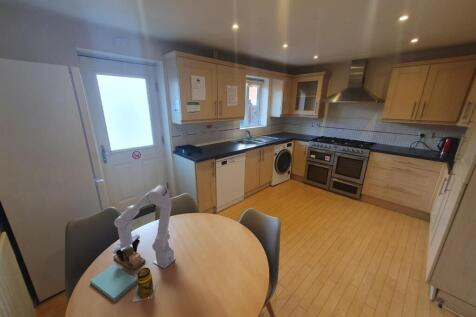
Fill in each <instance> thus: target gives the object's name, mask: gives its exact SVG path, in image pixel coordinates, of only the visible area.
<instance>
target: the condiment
mask: <svg viewBox="0 0 476 317" xmlns="http://www.w3.org/2000/svg"><path fill="white" fill-rule="evenodd" d="M136 276H137V277H136V279H137V283H136V284H137V287H136V290H135V293H134V295H133V299H132V303H134V302H139V301H145V300H149V299H153V298H154V293H155V291H156V285H157V284H156V283H154V284H153V275H152V273H151V269H150V268H149V267H142V268H141V269H139V270H138V271H137V275H136ZM148 297H149V298H148Z"/></svg>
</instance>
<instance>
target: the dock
mask: <svg viewBox="0 0 476 317" xmlns="http://www.w3.org/2000/svg"><path fill="white" fill-rule="evenodd" d="M89 284H90V285H92V286H93V287H95V289H97V290H99V291H100V292H101V293H103V295H105V296H106V297H108V298H109V299H110V300H112V301H113V302H115V303H116V302H117V301H118V300H119V299H120V298H121V297H122V296H123V295H125V294H126V293H127V292H129V290H130V289H132V288H133V287H134V286H135V285H136V284H138V283H137V277H134V276H133V275H131V274H129V273H128V272H126V271H124V270H123V269H121V268H120V267H118V266H116V265H115V264H111V265H110V266H109V267H106V268H105V269H104V270H102V271H101V272H99V273H98V274H97V275H95V276H94V277H92V278H91V279H90V280H89Z"/></svg>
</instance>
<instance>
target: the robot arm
mask: <svg viewBox="0 0 476 317" xmlns="http://www.w3.org/2000/svg"><path fill="white" fill-rule="evenodd" d="M147 203H148V204H151V203H152V204H153V205H155V206H157V207H159V208H160V212H159V218H158V219H159V220H158V225H157V226H158V227H157V231H156V232H157V233H156V236H155V238H154V242H153V244H152V246H151V247H152V249H153V251H154V252H155V259H154V260H153V261H152V263H153V264H154V265H157V266H159V267H160V268H163V269H166V268H167V267H169V266H170V265H171V264H172V263H173V262H174V261H175V260H176V257H175V254H174V253H175V252H174V249H172V248H171V247H170V243H169V240H170V239H171V238H170V234H169V233H170V230H169V224H170V218H171V212H172V204H173V202H172V199H171V196H170V194H169V189H168V188H167V187H166V186H165V185H162V184H157V185H156V186H155V188H152V189H151V190H149V191H148V192H147V193H146V194H144V195H143V196H142V197H141V198H140V199H139V200H138V201H137V202H136V203H135V204H132V205H130V206H127V207H126V208H125V210H124V211H122V212H121V213H120V215H119V216H118V217H117V218H115V219H114V222H113V224H114V226H115V227H116V228H117V232H118V238H119V243H118V244H117V245H116V246H115V247H113V248H112V249H111V252H112V254H114V255H117V256H118V257H119V259H120V261H122V262H123V261H124V258H123V253H124V252H123V251H122V250H121V249H122V248H125V247H127V246H131V247H133V249H134V253H135V252H137V251H138V247H139V244H140V242H141V241H140V238H141V236H140V234H138V233H137V234H135V235H132V229H131V221H132V220H134V218H136V216H137V215H138V214H139V213H140V209H141V208H142V207H143V206H145V205H146V204H147ZM137 253H138V252H137Z"/></svg>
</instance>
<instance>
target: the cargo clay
mask: <svg viewBox="0 0 476 317" xmlns="http://www.w3.org/2000/svg"><path fill="white" fill-rule="evenodd" d="M141 257H142V255H141V254H140V253H139V252H134V253H133V254H132V255H130V256H129V261H130V263H131V264H133V265H136V264H137V263H138V262H140V261H141Z"/></svg>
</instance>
